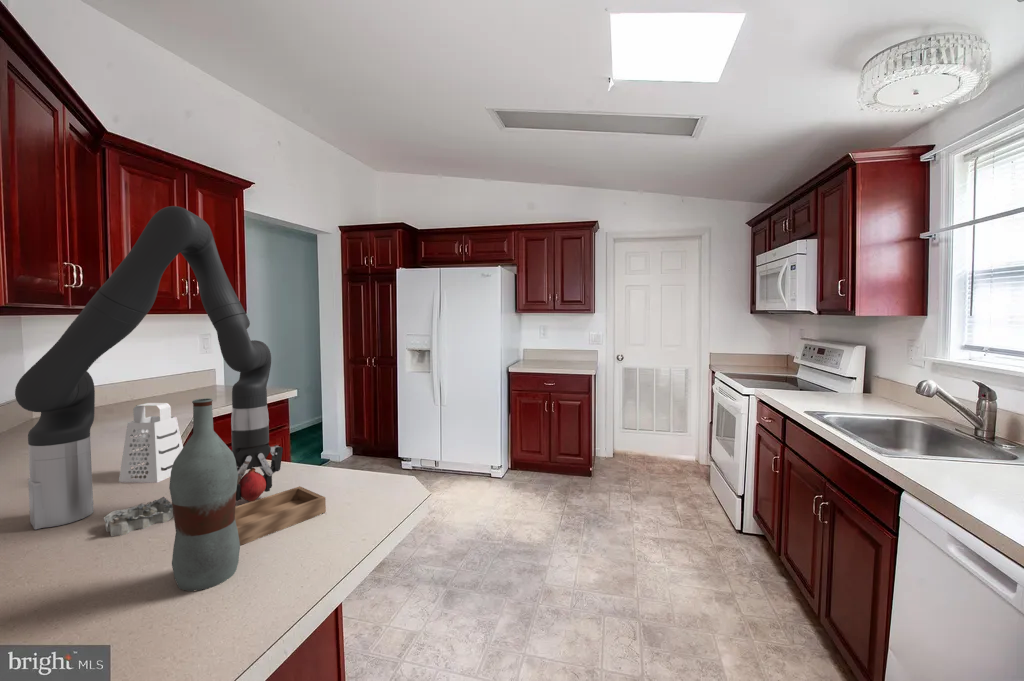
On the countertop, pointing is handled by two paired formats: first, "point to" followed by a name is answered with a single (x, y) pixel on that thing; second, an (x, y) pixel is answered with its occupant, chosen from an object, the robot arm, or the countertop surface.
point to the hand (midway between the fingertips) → (251, 494)
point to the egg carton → (138, 517)
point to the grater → (150, 445)
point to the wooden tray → (277, 513)
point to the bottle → (204, 506)
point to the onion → (252, 485)
